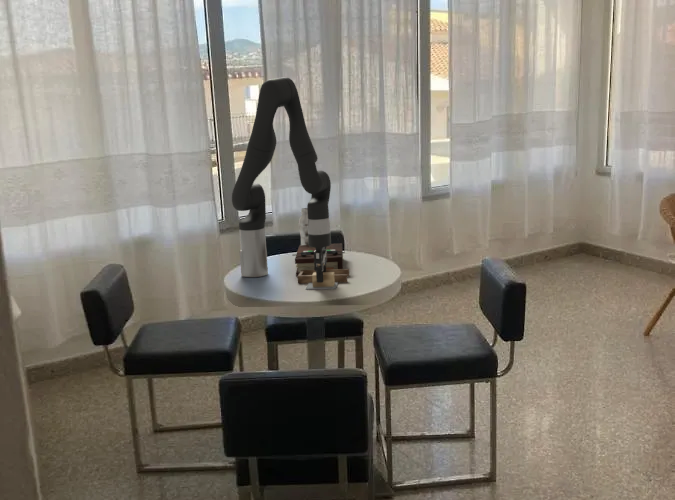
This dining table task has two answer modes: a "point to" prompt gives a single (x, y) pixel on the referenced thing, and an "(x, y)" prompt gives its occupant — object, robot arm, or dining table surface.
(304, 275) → the shelf bay
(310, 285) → the rubber pad
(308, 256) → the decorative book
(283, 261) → the dining table surface
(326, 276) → the block
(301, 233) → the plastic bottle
